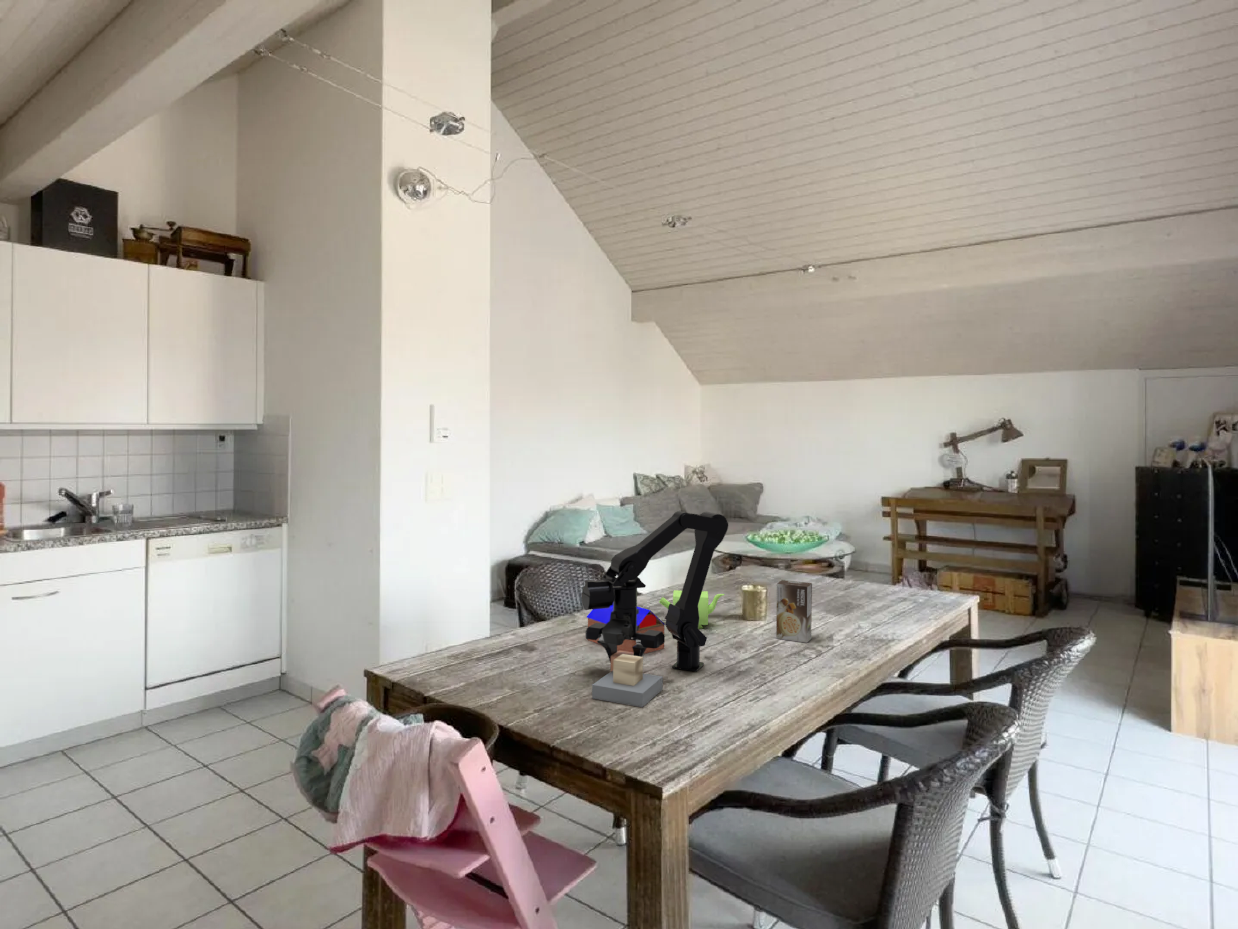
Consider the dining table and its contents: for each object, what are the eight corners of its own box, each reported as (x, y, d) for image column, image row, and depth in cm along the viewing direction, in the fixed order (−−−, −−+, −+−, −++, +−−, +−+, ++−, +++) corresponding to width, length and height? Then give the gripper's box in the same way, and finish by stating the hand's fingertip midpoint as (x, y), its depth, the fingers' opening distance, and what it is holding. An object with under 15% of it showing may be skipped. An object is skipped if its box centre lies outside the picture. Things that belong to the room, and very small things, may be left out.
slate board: (614, 681, 170) (614, 669, 170) (662, 689, 165) (662, 676, 165) (591, 698, 159) (592, 684, 159) (642, 707, 154) (642, 693, 154)
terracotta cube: (618, 670, 178) (619, 650, 178) (637, 673, 176) (637, 653, 176) (610, 676, 174) (610, 656, 174) (629, 679, 172) (629, 659, 171)
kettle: (724, 626, 221) (725, 589, 220) (692, 634, 211) (693, 596, 211) (688, 616, 232) (689, 581, 231) (656, 623, 223) (657, 587, 222)
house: (632, 657, 189) (633, 613, 189) (585, 640, 204) (586, 599, 204) (665, 649, 197) (666, 607, 196) (618, 633, 212) (618, 594, 212)
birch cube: (622, 675, 165) (622, 653, 165) (642, 678, 163) (642, 657, 163) (613, 682, 161) (613, 660, 160) (633, 685, 159) (634, 663, 158)
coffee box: (812, 638, 209) (813, 582, 208) (807, 643, 203) (808, 586, 203) (780, 633, 213) (782, 579, 213) (774, 638, 208) (776, 583, 207)
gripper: (575, 609, 171) (574, 674, 171) (648, 618, 163) (647, 686, 164) (595, 599, 181) (595, 661, 182) (665, 608, 173) (664, 672, 174)
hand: (624, 670), depth 175 cm, fingers open, 5 cm apart
